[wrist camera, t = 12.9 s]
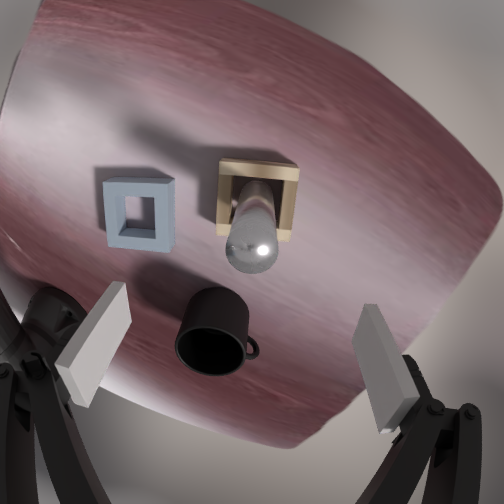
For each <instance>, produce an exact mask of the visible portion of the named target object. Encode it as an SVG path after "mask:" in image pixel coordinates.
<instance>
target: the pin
mask: <svg viewBox="0 0 504 504" xmlns="http://www.w3.org/2000/svg"><path fill="white" fill-rule="evenodd" d="M226 256H227V258H228V261H229V262H230V263H231V265H232V266H233V267H234V268H236V269H237V270H239V271H241V272H244V273H248V274H257V273H261V272H264V271H266V270H267V269H269V268H270V267H271V266H272V265H273V264H274V263H275V261H276V259H277V257H278V240H277V230H276V220H275V211H274V201H273V193H272V190H271V188H270V186H269V185H268V184H267V183H265V182H263V181H260V180H253V181H250V182H248V183H247V184H246V185H245V186H244V187H243V188H242V191H241V194H240V198H239V201H238V204H237V208H236V211H235V215H234V218H233V222H232V225H231V229H230V233H229V236H228V240H227V243H226Z"/></svg>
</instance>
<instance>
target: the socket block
mask: <svg viewBox="0 0 504 504" xmlns="http://www.w3.org/2000/svg"><path fill="white" fill-rule="evenodd" d="M125 196H135V197H154V204H155V230H152V229H140V228H127V224H126V209H125ZM103 197H104V210H105V221H106V231H107V240H108V247H117V248H127V249H137V250H147V251H157V252H167V253H169V252H170V251H171V249H172V247H173V246H174V244H175V179H172V178H143V177H112V178H110V179H108V180H106V181H104V182H103Z"/></svg>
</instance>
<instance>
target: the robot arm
mask: <svg viewBox="0 0 504 504" xmlns="http://www.w3.org/2000/svg"><path fill="white" fill-rule="evenodd" d="M131 322H132V321H131V315H130V310H129V304H128V298H127V291H126V285H125V283H124V282H117V281H113V282H112V283H111V284H110V286H109V287H108V288H107V290H106V291H105V292H104V294H103V295H102V296H101V298H100V299H99V300H98V302H97V303H96V304H95V306H94V307H93V308H92V310H91V311H90V312H89V314H88V315H87V313H86V312H85V310H84V309H83V308H82V307H81V306H80V305H79V304H78V303H77V302H76V301H75V300H74V299H73V298H72V297H70V296H69V295H68V294H66V293H64V292H62V291H60V290H58V289H55V288H49V287H47V288H42V289H40V290H39V291H38V292H37V293H36V294H35V295H34V296H33V297H32V298H31V300H30V302H29V305H28V309H27V311H26V313H25V315H24V317H23V320H22V322H21V324H20V323H19V321H18V319H17V318H16V316H15V314H14V313H13V311H12V309H11V307H10V306H9V304H8V302H7V300H6V298H5V297H4V295H3V293H2V291H1V289H0V504H39V502H38V493H37V483H36V470H35V452H34V451H35V449H34V423H35V427H36V431H37V435H38V439H39V443H40V446H41V450H42V453H43V457H44V460H45V463H46V466H47V469H48V472H49V475H50V478H51V481H52V483H53V486H54V489H55V491H56V494H57V496H58V499H59V501H60V504H111V502H110V500H109V498H108V496H107V494H106V493H105V491H104V489H103V487H102V485H101V483H100V481H99V479H98V476H97V474H96V472H95V470H94V468H93V466H92V464H91V461H90V459H89V457H88V454H87V452H86V449H85V447H84V445H83V442H82V439H81V437H80V434H79V432H78V429H77V426H76V423H75V421H74V418H73V415H72V412H71V409H70V406H69V404H68V400H69V398H70V396H71V398H72V400H73V402H74V403H75V404H78V405H81V406H84V407H87V408H88V407H89V405H90V403H91V401H92V398H93V396H94V394H95V392H96V390H97V388H98V386H99V384H100V382H101V380H102V378H103V376H104V374H105V372H106V370H107V368H108V366H109V364H110V362H111V360H112V358H113V356H114V354H115V352H116V350H117V348H118V346H119V344H120V343H121V341H122V339H123V337H124V335H125V333H126V331H127V329H128V328H129V326H130V324H131ZM352 344H353V347H354V350H355V354H356V357H357V360H358V363H359V366H360V369H361V373H362V376H363V379H364V382H365V386H366V389H367V392H368V395H369V399H370V402H371V406H372V409H373V413H374V416H375V420H376V424H377V428H378V431H379V434H382V433H390V432H394V431H395V429H396V428H397V427H398V426H400V430H401V432H400V433H399V435H398V436H397V437H396V438H395V439H394V440H393V442H392V443H393V445H392V447H391V449H390V451H389V452H388V454H387V456H386V457H385V459H384V461H383V463H382V464H381V466H380V468H379V469H378V471H377V472H376V474H375V475H374V477H373V478H372V480H371V482H370V483H369V485H368V486H367V488H366V489H365V490H364V492H363V493H362V495H361V496H360V498H359V499H358V500H357V502H356V503H355V504H407V503H408V501H409V499H410V497H411V495H412V494H413V492H414V490H415V488H416V486H417V484H418V482H419V480H420V478H421V476H422V474H423V471H424V469H425V467H426V465H427V463H428V460H429V458H430V456H431V458H430V464H429V470H428V475H427V481H426V486H425V491H424V495H423V499H422V504H478V500H479V490H480V479H481V460H482V424H481V413H480V410H479V409H478V408H477V407H476V406H475V405H473V404H471V403H466V404H463V405H462V406H461V408H460V409H459V410H457V409H449V408H445V406H444V404H443V403H442V402H441V401H439V400H437V399H434V398H433V397H432V395H431V393H430V391H429V389H428V386H427V384H426V382H425V380H424V378H423V377H422V373H421V371H419V367H418V365H417V363H416V361H415V360H414V359H413V358H412V357H411V356H410V355H401V352H400V350H399V348H398V346H397V344H396V342H395V340H394V338H393V336H392V334H391V332H390V330H389V328H388V326H387V323H386V321H385V320H384V318H383V316H382V314H381V312H380V310H379V308H378V306H377V304H364V307H363V310H362V313H361V316H360V319H359V322H358V325H357V327H356V330H355V333H354V336H353V339H352Z"/></svg>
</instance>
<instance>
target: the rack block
mask: <svg viewBox="0 0 504 504" xmlns="http://www.w3.org/2000/svg"><path fill="white" fill-rule="evenodd" d="M234 175H236V176H248V177H259V178H270V179H280V180H283V181H282V190H281V199H280V207H279V216H278V221H276V230H277V240H278V241H286V242H290V236H291V229H292V222H293V215H294V208H295V200H296V193H297V185H298V177H299V167H298V166H297V165H296V164H288V163H279V162H269V161H258V160H247V159H234V158H222V159H221V160H220V161H219V176H218V195H217V216H216V235H221V236H229V233H230V229H231V225H232V222H233V218H234V217H233V216H231V212H232V196H233V181H234Z"/></svg>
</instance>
